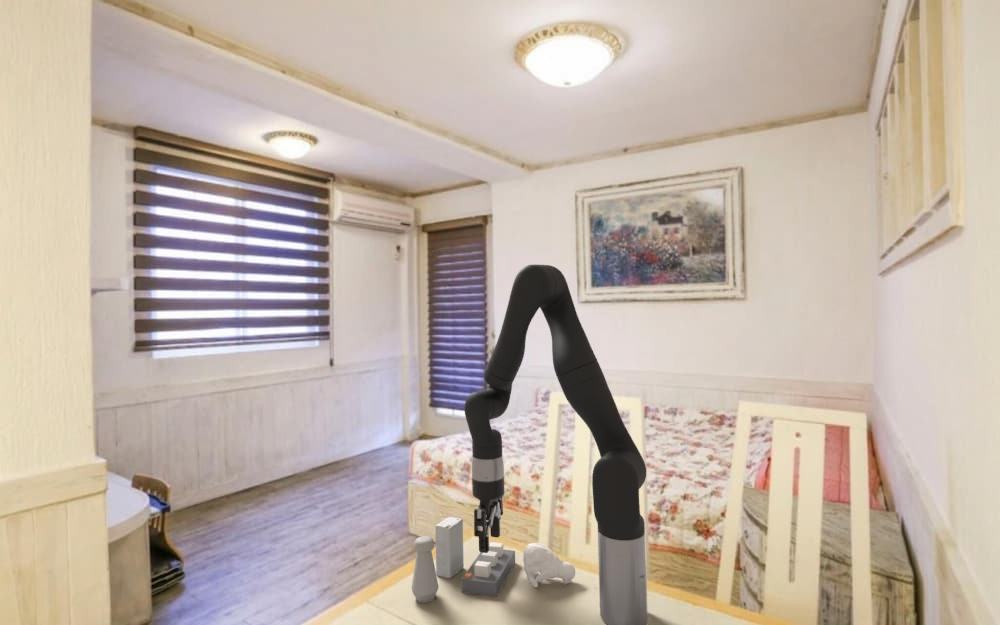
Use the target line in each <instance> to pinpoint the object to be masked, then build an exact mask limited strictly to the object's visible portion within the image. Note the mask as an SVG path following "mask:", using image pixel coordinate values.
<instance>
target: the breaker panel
mask: <svg viewBox="0 0 1000 625" xmlns="http://www.w3.org/2000/svg"><path fill="white" fill-rule="evenodd" d="M489 551H492V552H497V559H498V562H497V564H496V566H495V567H493V566H491V562H484V561H482V557H481V555H482V552H480V553H479V554H478V556H477V557H476V558H475V560H474V561H473V562H472V563H471V565H470V567H469V568H468V569H467V570H466V572H465V574H464V575H463V576H462V578H461V593H464V594H470V595H478V596H484V597H485V596H487V597H494V598H497V597H498V595H499V593H500V591H501V590H502V588H503V586H504V584H505V583H504V582H507V578H508V577H509V575H510V574H509V573H511V572H512V570H513V568H514V566H515V564H516V550H511V549H504V543H502V542H493V541H491V542H489ZM511 569H512V570H511ZM510 571H511V572H510Z"/></svg>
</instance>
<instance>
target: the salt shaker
mask: <svg viewBox="0 0 1000 625" xmlns="http://www.w3.org/2000/svg"><path fill="white" fill-rule="evenodd" d="M413 546H414V547H413V548H414V552H416V556H415V560H414V561H415V562H414V567H413V568H414V569H413V577H412V581H411V582H412V583H411V591H412V594H413V596H414V597H415V599H416V601H417V602H418V603H424V604H428V603H430V602H433V601H434V600H435V598H436V594H437V592H438V590H439V582H438V579H437V574H436V568H435V567H436V565H435V563H434V558H433V553H432V551H433V550H434V548H435V542H434V538H432V537H431V536H429V535H421V536H418V537H417V538H416V539H415V540H414V542H413Z"/></svg>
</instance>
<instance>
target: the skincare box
mask: <svg viewBox="0 0 1000 625" xmlns="http://www.w3.org/2000/svg"><path fill="white" fill-rule="evenodd" d="M434 527H435V567H436V568H435V572H436V576H438V577H442V578H446V579H452V578H453V577H454V576H455V575H456V574H458V573H459V572H460V571H461V570H462V569H464V566H465V565H464V521H463V518H460V517H459V518H458V517H452V516H448V517H447V518H445V519H443V520H442V521H440V522H439V523H438V524H436V525H435V526H434Z"/></svg>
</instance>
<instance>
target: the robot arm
mask: <svg viewBox="0 0 1000 625" xmlns="http://www.w3.org/2000/svg"><path fill="white" fill-rule="evenodd" d="M507 303H508V304H507V306H506V310H505V314H504V318H503V322H502V326H501V329H500V333H499V336H498V339H497V342H496V344H495V346H494V349H493V351H492V353H491V355H490V357H489V361H488V362H487V365H486V367H485V370H484V372H483V379H484V381H485V382H486V384H487V385H488V387H486V389H483V390H479V391H474V392H471V393H470V394H469V395H468V396H467V397H466V400H465V402H464V415H465V416H464V417H465V420H466V423H467V426H468V430H469V433H470V436H471V441H472V442H471V443H472V444H471V446H472V452H471V453H472V460H471V484H472V485H471V486H472V487H471V488H472V489H471V490H472V495H473V497H474V498H475V499H478V500H479V505H478V508H474V510H473V518H474V519H473V524H474V525H473V528H474V529H473V530H474V531H473V534H474V535H473V536H474V537H478V551H479V552H480V553H481V552H482V553H488V551H489V544H490V537H492V538H500V536H501V520H502V516H503V514H504V506H503V505H504V504H503V496H504V495H505V471H504V469H505V466H504V465H505V464H504V457H503V440H502V434H501V432H500V430H498V429H495V428H494V429H493V428H492V426H491V422H490V421H491V420H494V419H498V418H500V417H501V416H502V415H503V414H504V413H505V412H506V411H507V409H508V407H509V404H510V400H511V394H512V388H513V382H514V381H515V379H516V377H517V374H518V373H519V370H520V367H521V366H522V363H523V360H524V356H525V350H526V340H527V333H528V331H529V330H528V329H529V326H530V324H531V322H532V320H533V318H534V317H535V315H536V314H537V312H538V310H539V309H540V310H541V312H542V314H543V316H544V318H545V321H546V323H547V325H548V328H549V332H550V336H551V350H552V351H551V352H552V354H551V355H552V364H553V369H554V373H555V375H556V378H557V380H558V383H559V386H560V387H561V390H562V392H563V395H564V397H565V399H566V400H567V402H568V403H569V405H570V407H571V408H572V409H573V410H574V412H575V413H576V414H577V415H578V416H579V417H580V418H581V420H582V421H583V423H585V425H586V426H587V428H588V430H589V431H590V434H592V437H593V439H594V441H595V444H596V446H597V450H598V452H599V456H600V458H599V459H598V460H597V461H596V463H595V465H594V466H593V470H592V476H591V477H592V478H591V481H592V482H591V484H592V485H591V486H592V498H593V499H592V502H593V514H594V518H595V520H596V523H597V547H598V548H597V549H598V550H597V551H598V552H597V553H598V579H599V580H598V581H599V582H598V584H599V588H598V589H599V592H598V593H599V614H600V615H599V616H600V618H601V621H603V622H604V623H605V624H607V625H648V582H647V578H648V577H647V564H646V538H645V537H646V536H645V535H646V534H645V533H646V532H645V530H646V527H645V525H646V524H645V519H644V518H643V516H642V515H641V508H640V506H641V505H640V489H641V488H642V486H643V485H644V484H645V482H646V478H647V466H646V463H645V461H644V458H643V456H642V455H641V453H640V451H639V449H638V447H637V445H636V443H635V442H634V440H633V439H632V437H631V434H630V433H629V431H628V429H627V427H626V426H625V423H624V421H623V419H622V417H621V415H620V412H619V408H618V407H617V405H616V402H615V399H614V397H613V395H612V391H611V390H610V387H609V385H608V382H607V380H606V377H605V375H604V372H603V370H602V368H601V365H600V363H599V361H598V359H597V357H596V354H595V353H594V350H593V348H592V346H591V343H590V341H589V339H588V336H587V334H586V332H585V330H584V328H583V326H582V323H581V321H580V319H579V316H578V313H577V310H576V307H575V303H574V300H573V297H572V294H571V291H570V288H569V285H568V282H567V280H566V278H565V276H564V274H563V272H562V271H560V269H558V268H557V267H555V266H553V265H549V264H528V265H525V266H524V267H522V268H521V269H520V270H519V271H518V272H517V273H516V275H515V277H514V280H513V284H512V287H511V291H510V295H509V299H508V302H507ZM489 534H490V535H489ZM489 536H490V537H489Z"/></svg>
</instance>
